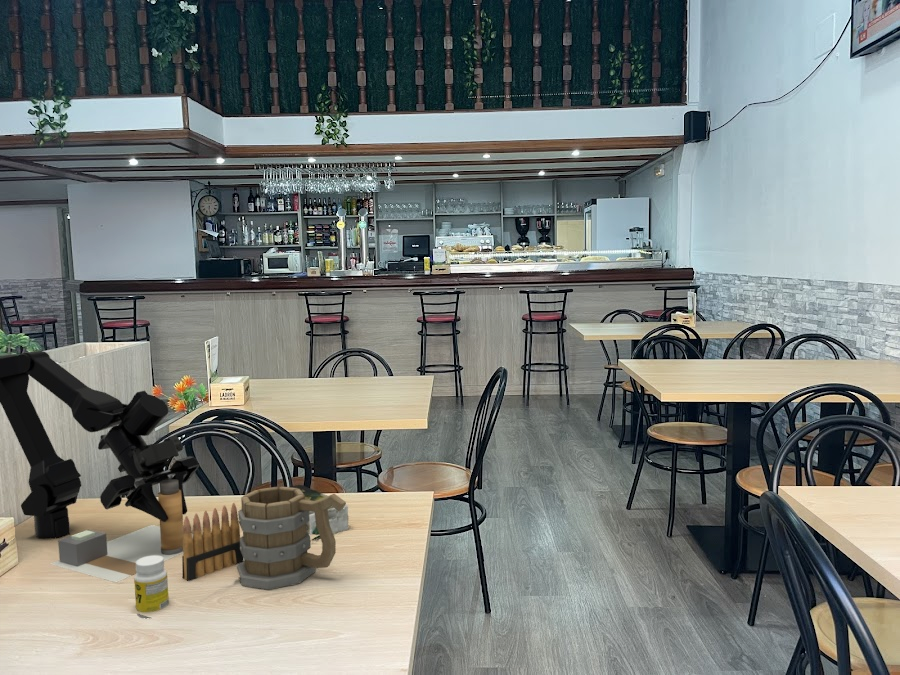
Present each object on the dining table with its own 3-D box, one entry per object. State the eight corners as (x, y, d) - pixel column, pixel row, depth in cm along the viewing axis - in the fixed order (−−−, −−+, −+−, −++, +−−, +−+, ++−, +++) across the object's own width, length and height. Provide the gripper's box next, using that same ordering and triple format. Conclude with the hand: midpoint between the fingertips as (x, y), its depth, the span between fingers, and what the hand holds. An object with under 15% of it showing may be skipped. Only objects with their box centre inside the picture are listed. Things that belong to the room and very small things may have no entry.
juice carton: (354, 530, 146) (353, 501, 146) (312, 544, 140) (310, 513, 139) (303, 509, 161) (302, 482, 161) (263, 520, 155) (261, 492, 154)
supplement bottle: (134, 609, 113) (131, 557, 112) (166, 602, 115) (163, 551, 114) (138, 622, 109) (134, 568, 108) (171, 614, 111) (168, 561, 110)
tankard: (223, 583, 122) (218, 497, 121) (267, 555, 134) (263, 476, 132) (326, 600, 115) (322, 508, 113) (363, 569, 127) (360, 485, 125)
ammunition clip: (187, 588, 120) (183, 518, 119) (182, 585, 122) (178, 516, 120) (244, 568, 128) (241, 502, 127) (238, 565, 129) (235, 500, 128)
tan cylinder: (155, 552, 133) (151, 483, 132) (174, 544, 137) (170, 477, 135) (171, 555, 131) (167, 486, 130) (189, 547, 135) (186, 480, 133)
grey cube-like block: (59, 561, 130) (57, 537, 129) (89, 550, 135) (88, 526, 135) (77, 566, 127) (75, 541, 127) (107, 554, 133) (105, 530, 132)
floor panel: (49, 570, 129) (49, 564, 129) (152, 530, 148) (151, 524, 148) (116, 589, 120) (116, 582, 120) (215, 544, 140) (215, 538, 140)
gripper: (106, 435, 125) (153, 505, 121) (190, 415, 142) (234, 476, 138) (80, 474, 130) (125, 543, 126) (165, 450, 146) (207, 511, 142)
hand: (176, 516), depth 133 cm, fingers closed on tan cylinder, 4 cm apart
